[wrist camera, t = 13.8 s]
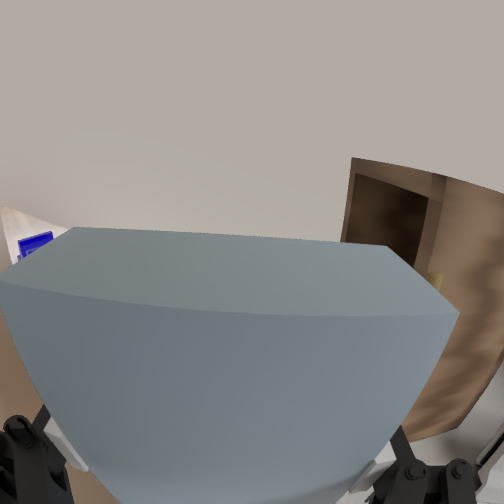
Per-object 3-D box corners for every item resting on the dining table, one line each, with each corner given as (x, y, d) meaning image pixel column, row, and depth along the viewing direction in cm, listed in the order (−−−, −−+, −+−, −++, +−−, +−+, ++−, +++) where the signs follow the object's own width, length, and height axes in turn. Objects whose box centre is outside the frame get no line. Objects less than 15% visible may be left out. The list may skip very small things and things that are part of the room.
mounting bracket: (18, 264, 42) (13, 235, 40) (48, 254, 48) (43, 226, 46) (43, 298, 34) (34, 261, 32) (81, 283, 39) (76, 247, 37)
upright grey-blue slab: (298, 470, 15) (377, 237, 9) (305, 530, 10) (459, 312, 5) (148, 460, 14) (85, 220, 9) (135, 517, 10) (-8, 279, 4)
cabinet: (409, 348, 30) (456, 180, 22) (459, 431, 17) (560, 216, 10) (316, 353, 29) (351, 157, 22) (345, 460, 17) (453, 178, 9)
